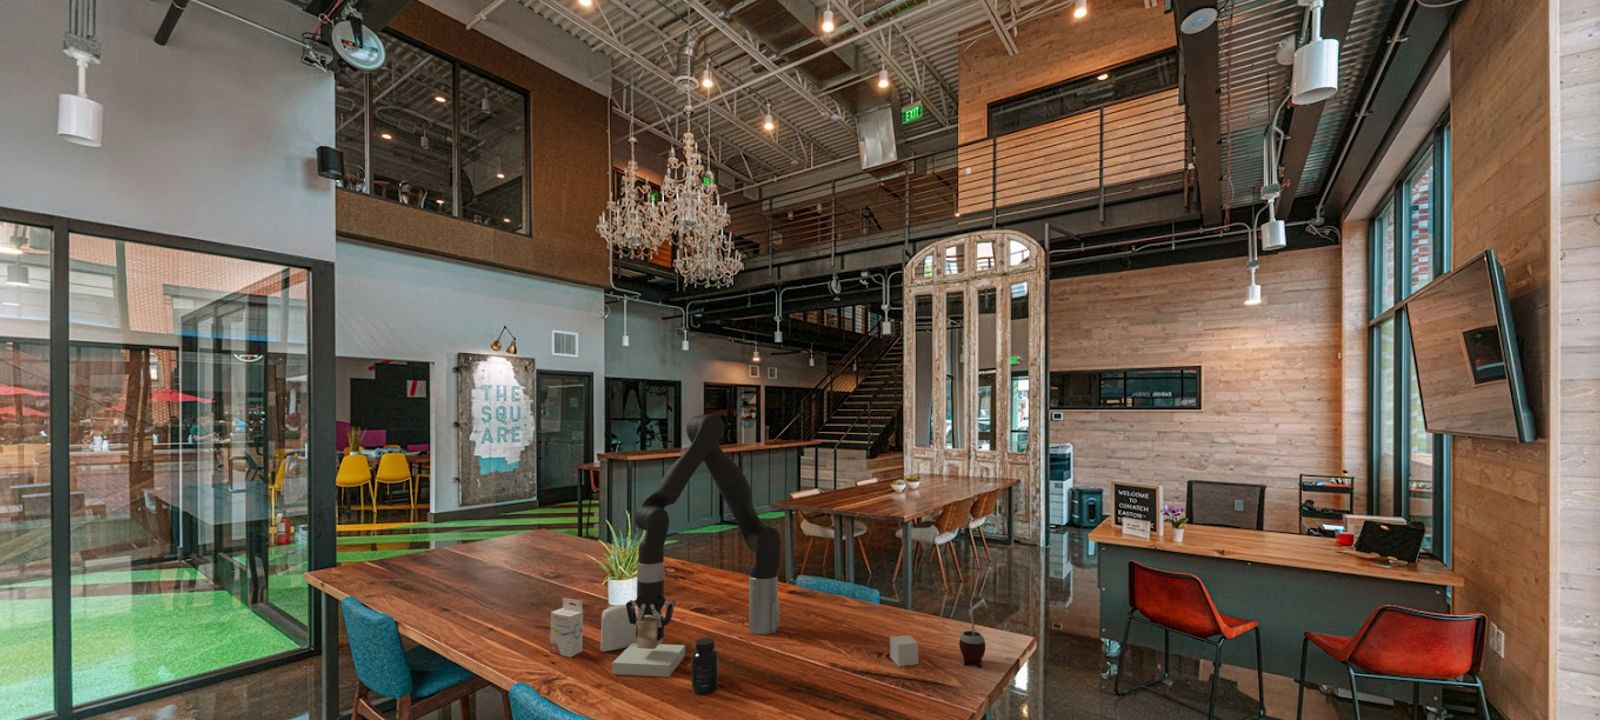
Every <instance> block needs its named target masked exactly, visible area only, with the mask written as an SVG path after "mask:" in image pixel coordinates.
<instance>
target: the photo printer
mask: <svg viewBox="0 0 1600 720" xmlns="http://www.w3.org/2000/svg"><path fill="white" fill-rule="evenodd" d="M636 611H637V610H635V613H636ZM600 627H601V630H600V632H601V634H600V651H601V652H604V653H605V652H610V651H615V650H619V649H624V648H628V647H629V646H630V645H631V644H632V643H636V625H635V624H630V622H629V618H628V613H627V608H626V604H624V603H623V604H616V605H614V606H613V605H612V606H610V607H608V608H605V609H604V610H603V611H602V614H601V626H600Z"/></svg>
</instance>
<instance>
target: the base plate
mask: <svg viewBox="0 0 1600 720" xmlns="http://www.w3.org/2000/svg"><path fill="white" fill-rule="evenodd" d="M685 656H686V645H685V644H665V643H663V644H662V643H660V644H659V645H658V646H657V647H656V648H655V649H643V648H637V642H635V643H632V644H631V645H630V646H629V647H626V649H624V651H623V652H621V653H620V655H619V656H618V657H616V659H614V661H612V662H611V663H612V665H611V668H612V670H611V672H612V673H611V674H612V675H619V676H620V675H623V676H642V677H643V676H645V677H663V678H664V677H666V678H670V676H671V675H672V674H673V672H675V670H676V668H677V667H678V666H679V664H680V663H681V662H682V661H683V659H684V658H685Z"/></svg>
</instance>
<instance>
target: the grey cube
mask: <svg viewBox="0 0 1600 720" xmlns="http://www.w3.org/2000/svg"><path fill="white" fill-rule="evenodd" d="M890 658H891V659H892V660H893V661H894V662H895V663H896V664H897V665H898V666H902V667H906V666H905V665H910V666H916V665H915V664H918V665H919V642H918V641H916V639H914V638H913V636H911V635H909V634H907V635H906V634H905V635H897V636H890V637H889V659H890ZM891 659H890V660H891ZM892 660H891V661H892ZM893 661H892V662H893ZM895 663H894V664H895ZM896 664H895V665H896ZM897 665H896V666H897ZM898 666H897V667H898Z"/></svg>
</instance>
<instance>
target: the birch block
mask: <svg viewBox="0 0 1600 720" xmlns="http://www.w3.org/2000/svg"><path fill="white" fill-rule="evenodd" d="M657 628H658V625H657V621H656V620H655V618H654V616H652V615H645V617H644V618H642V620H640V621H639V622H638V638H637V642H636V643H637V648H643V649H655V648H656V647H657V646H658V645H659V644H662V641H663V638H662V639H661V640H660V641H657Z"/></svg>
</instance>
